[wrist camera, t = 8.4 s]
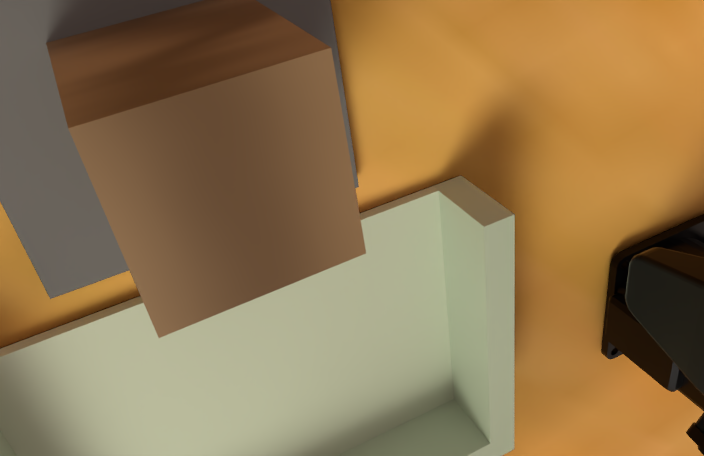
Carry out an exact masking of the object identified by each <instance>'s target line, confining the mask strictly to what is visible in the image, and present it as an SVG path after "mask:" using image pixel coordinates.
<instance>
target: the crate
mask: <svg viewBox="0 0 704 456" xmlns="http://www.w3.org/2000/svg"><path fill="white" fill-rule="evenodd" d="M360 219H361V225H362V231H363V237H364V243H365V249H366V254H363V255H361V256H359V257H356V258H354V259H351V260H349V261H346V262H344V263H341V264H339V265H337V266H334V267H332V268H329V269H327V270H324V271H322V272H319V273H317V274H315V275H312V276H310V277H307V278H305V279H302V280H300V281H297V282H295V283H293V284H290V285H288V286H285V287H283V288H280V289H278V290H275V291H273V292H271V293H268V294H266V295H263V296H261V297H258V298H256V299H253V300H251V301H249V302H246V303H244V304H241V305H239V306H236V307H234V308H231V309H229V310H227V311H224V312H222V313H219V314H217V315H214V316H212V317H209V318H207V319H205V320H202V321H200V322H197V323H195V324H192V325H190V326H187V327H185V328H183V329H180V330H178V331H175V332H173V333H170V334H168V335H165V336H163V337H161V338H159V337H158V335H157V333H156V330H155V328H154V326H153V324H152V321H151V319H150V317H149V314H148V312H147V310H146V307H145V305H144V303H143V300H142V298H141V296H139V297H136V298H134V299H131V300H128V301H126V302H123V303H120V304H118V305H115V306H112V307H110V308H107V309H104V310H102V311H99V312H96V313H94V314H91V315H89V316H86V317H83V318H81V319H78V320H75V321H73V322H70V323H67V324H65V325H62V326H59V327H57V328H54V329H51V330H49V331H46V332H43V333H41V334H38V335H35V336H33V337H30V338H27V339H25V340H22V341H19V342H17V343H14V344H11V345H9V346H6V347H3V348H1V349H0V456H502V455H504V454H506V453H508V452H510V451H512V450H513V449H514V326H515V214H513V213H512V212H511V211H509V210H508V209H507V208H505V207H504V206H502V205H501V204H500V203H498V202H497V201H496V200H494V199H493V198H491V197H490V196H489V195H487V194H486V193H485V192H483V191H482V190H480V189H479V188H478V187H476V186H475V185H474V184H472V183H471V182H469V181H468V180H467V179H465V178H464V177H463V176H458V177H455V178H453V179H450V180H447V181H445V182H442V183H439V184H437V185H434V186H431V187H429V188H426V189H423V190H421V191H418V192H416V193H413V194H410V195H408V196H405V197H402V198H400V199H397V200H394V201H392V202H389V203H386V204H384V205H381V206H378V207H376V208H373V209H370V210H368V211H365V212H362V213H360Z"/></svg>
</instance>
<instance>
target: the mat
mask: <svg viewBox="0 0 704 456" xmlns="http://www.w3.org/2000/svg"><path fill="white" fill-rule="evenodd" d="M199 1H203V0H0V202H1V204H2V206H3V208H4V210H5V212H6V213H7V215H8V217H9V219H10V221H11V223H12V225H13V227H14V229H15V231H16V233H17V235H18V237H19V239H20V241H21V243H22V245H23V247H24V248H25V250H26V252H27V254H28V256H29V258H30V260H31V262H32V264H33V266H34V268H35V270H36V272H37V274H38V276H39V278H40V280H41V282H42V284H43V285H44V287H45V289H46V291H47V293H48V295H49V297H50V299H51V298H54V297H57V296H59V295H62V294H65V293H68V292H70V291H73V290H76V289H79V288H82V287H84V286H87V285H90V284H93V283H95V282H98V281H101V280H104V279H106V278H109V277H112V276H115V275H117V274H120V273H123V272H126V271H128V270H129V268H128V266H127V263H126V261H125V259H124V256H123V254H122V252H121V249H120V247H119V245H118V243H117V240H116V238H115V236H114V233H113V231H112V229H111V226H110V224H109V222H108V219H107V217H106V215H105V212H104V210H103V208H102V206H101V203H100V201H99V199H98V196H97V194H96V192H95V189H94V187H93V185H92V182H91V180H90V178H89V175H88V173H87V171H86V168H85V166H84V164H83V162H82V159H81V157H80V155H79V152H78V150H77V148H76V145H75V143H74V141H73V138H72V136H71V134H70V131H69V129H68V126H67V122H66V118H65V114H64V110H63V106H62V103H61V99H60V95H59V91H58V87H57V83H56V80H55V76H54V72H53V68H52V64H51V60H50V56H49V53H48V49H47V45H46V43H47V42H51V41H55V40H58V39H62V38H66V37H69V36H73V35H77V34H81V33H84V32H88V31H92V30H95V29H99V28H103V27H107V26H110V25H114V24H118V23H121V22H125V21H129V20H132V19H136V18H140V17H144V16H147V15H151V14H155V13H158V12H162V11H166V10H169V9H173V8H177V7H181V6H184V5H188V4H192V3H195V2H199ZM256 1H258V2H259V3H261V4H263V5H264V6H266V7H267V8H269V9H271V10H272V11H274V12H275V13H277V14H279V15H280V16H282V17H283V18H285V19H287V20H288V21H290V22H291V23H293V24H294V25H296V26H298V27H299V28H301V29H302V30H304V31H306V32H307V33H309V34H310V35H312V36H314V37H315V38H317V39H318V40H320V41H322V42H323V43H325V44H326V45H328V46H329V47H331V49H332V55H333V61H334V67H335V73H336V79H337V85H338V90H339V96H340V102H341V108H342V114H343V120H344V126H345V131H346V137H347V143H348V149H349V155H350V161H351V167H352V172H353V178H354V184H355V188H357V187H359V186H358V179H357V173H356V166H355V160H354V153H353V146H352V140H351V133H350V127H349V120H348V114H347V107H346V100H345V94H344V87H343V81H342V74H341V68H340V61H339V54H338V48H337V41H336V35H335V28H334V22H333V15H332V8H331V2H330V0H256Z"/></svg>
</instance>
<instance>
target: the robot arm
mask: <svg viewBox="0 0 704 456" xmlns="http://www.w3.org/2000/svg"><path fill="white" fill-rule="evenodd" d="M601 352H602V354H603V355H605V356H606V357H607V358H608V359H613V358H616V357H618V356H620V355H622V354H624V355H625V356H626V357H628V358H629V359H630V360H631V361H633V362H634V363H635V364H636V365H637V366H639V367H640V368H641V369H642V370H643V371H645V372H646V373H647V374H648V375H650V376H651V377H652V378H653V379H654V380H656V381H657V382H658V383H659V384H660V385H662V386H663V387H664V388H665V389H667V390H669V391H671V392H674V391H676V390H678V391H680V392H681V393H682V394H683V395H685V396H686V397H687V398H688V399H690V400H691V401H692V402H693V403H694V404H696V405H697V406H698V407H699V408H701V409H702V410H703V411H704V214H703V215H701V216H699V217H697V218H694V219H692V220H690V221H688V222H685V223H683V224H681V225H679V226H677V227H674V228H672V229H670V230H668V231H665V232H663V233H661V234H659V235H657V236H654V237H652V238H650V239H648V240H645V241H643V242H641V243H639V244H637V245H634V246H632V247H630V248H628V249H626V250H623V251H621V252H619V253H618V254H616V255H615V256H614V257H613V259H612V261H611V264H610V272H609V282H608V291H607V301H606V311H605V320H604V330H603V339H602V349H601ZM686 433H687V434H688V436H689V437H690V438H691V439H692V440H693V441H694V442H695V443H696V444H697V445H698V449H699V451H700V452H701V453H702V454H703V455H704V413H703V414H702V416H701V417H700V418H699V419H698V421H697V422H696V423H693V424H692V425H691V426H690V428H689V429H688V430H687V432H686Z"/></svg>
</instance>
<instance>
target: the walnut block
mask: <svg viewBox="0 0 704 456" xmlns="http://www.w3.org/2000/svg"><path fill="white" fill-rule="evenodd" d="M46 45H47V49H48V53H49V56H50V60H51V64H52V68H53V72H54V76H55V80H56V83H57V87H58V91H59V95H60V99H61V103H62V106H63V110H64V114H65V118H66V122H67V126H68V129H69V131H70V134H71V136H72V138H73V141H74V143H75V145H76V148H77V150H78V152H79V155H80V157H81V159H82V162H83V164H84V166H85V168H86V171H87V173H88V175H89V178H90V180H91V182H92V185H93V187H94V189H95V192H96V194H97V196H98V199H99V201H100V203H101V206H102V208H103V210H104V212H105V215H106V217H107V219H108V222H109V224H110V226H111V229H112V231H113V233H114V236H115V238H116V240H117V243H118V245H119V247H120V249H121V252H122V254H123V256H124V259H125V261H126V263H127V266H128V268H129V270H130V273H131V275H132V277H133V280H134V282H135V284H136V287H137V289H138V291H139V293H140V296H141V298H142V300H143V303H144V305H145V307H146V310H147V312H148V314H149V317H150V319H151V321H152V324H153V326H154V328H155V330H156V333H157V335H158V337H159V338H161V337H163V336H165V335H168V334H170V333H173V332H175V331H178V330H180V329H183V328H185V327H187V326H190V325H192V324H195V323H197V322H200V321H202V320H205V319H207V318H209V317H212V316H214V315H217V314H219V313H222V312H224V311H227V310H229V309H231V308H234V307H236V306H239V305H241V304H244V303H246V302H249V301H251V300H253V299H256V298H258V297H261V296H263V295H266V294H268V293H271V292H273V291H275V290H278V289H280V288H283V287H285V286H288V285H290V284H293V283H295V282H297V281H300V280H302V279H305V278H307V277H310V276H312V275H315V274H317V273H319V272H322V271H324V270H327V269H329V268H332V267H334V266H337V265H339V264H341V263H344V262H346V261H349V260H351V259H354V258H356V257H359V256H361V255H363V254H366V249H365V243H364V237H363V231H362V225H361V219H360V213H359V208H358V202H357V196H356V190H355V184H354V178H353V172H352V167H351V161H350V155H349V149H348V143H347V137H346V131H345V126H344V120H343V114H342V108H341V102H340V96H339V90H338V85H337V79H336V73H335V67H334V61H333V55H332V49H331V47H329V46H328V45H326V44H325V43H323V42H322V41H320V40H318V39H317V38H315V37H314V36H312V35H310V34H309V33H307V32H306V31H304V30H302V29H301V28H299V27H298V26H296V25H294V24H293V23H291V22H290V21H288V20H287V19H285V18H283V17H282V16H280V15H279V14H277V13H275V12H274V11H272V10H271V9H269V8H267V7H266V6H264V5H263V4H261V3H259V2H258V1H256V0H203V1H199V2H195V3H192V4H188V5H184V6H181V7H177V8H173V9H169V10H166V11H162V12H158V13H155V14H151V15H147V16H144V17H140V18H136V19H132V20H129V21H125V22H121V23H118V24H114V25H110V26H107V27H103V28H99V29H95V30H92V31H88V32H84V33H81V34H77V35H73V36H69V37H66V38H62V39H58V40H55V41H51V42H47V43H46Z"/></svg>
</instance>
